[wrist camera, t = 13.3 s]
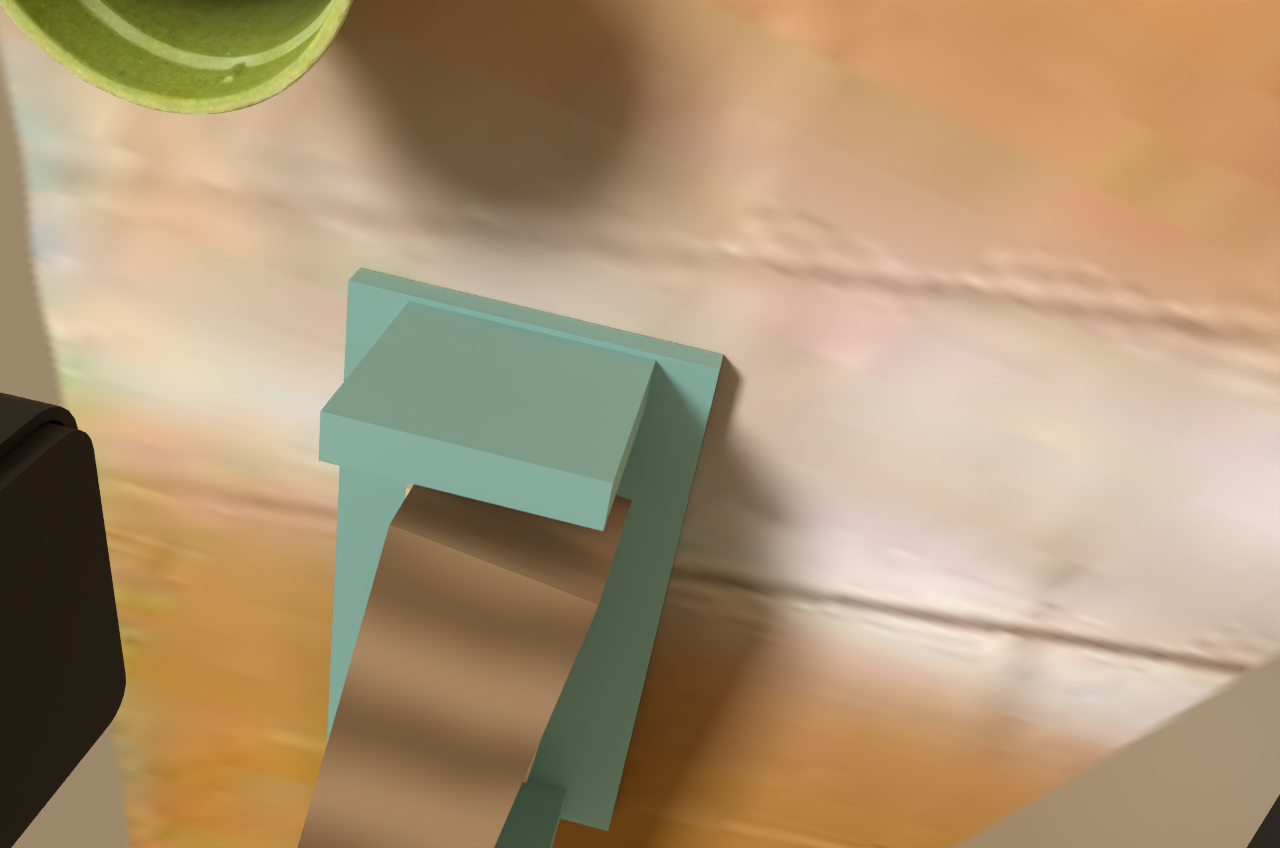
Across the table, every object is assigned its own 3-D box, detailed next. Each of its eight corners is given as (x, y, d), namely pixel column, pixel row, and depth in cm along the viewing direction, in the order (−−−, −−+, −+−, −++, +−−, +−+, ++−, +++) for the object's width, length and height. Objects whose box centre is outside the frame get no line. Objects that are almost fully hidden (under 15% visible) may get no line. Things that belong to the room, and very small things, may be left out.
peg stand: (360, 268, 38) (248, 387, 32) (723, 354, 38) (688, 495, 31) (335, 739, 50) (250, 900, 43) (612, 812, 50) (570, 986, 43)
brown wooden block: (496, 819, 45) (456, 934, 41) (346, 762, 45) (290, 872, 41) (631, 500, 36) (598, 604, 32) (447, 429, 36) (389, 524, 32)
